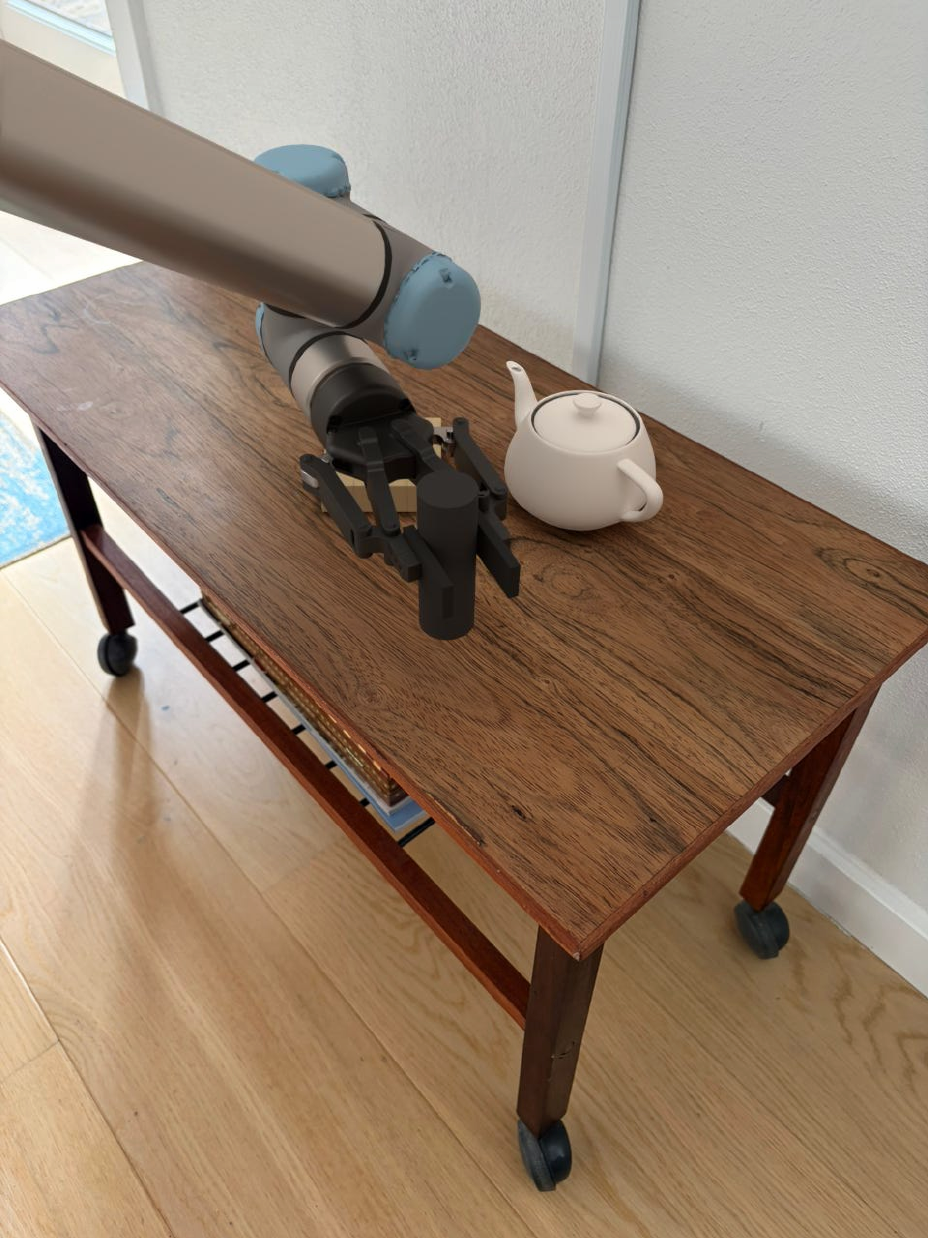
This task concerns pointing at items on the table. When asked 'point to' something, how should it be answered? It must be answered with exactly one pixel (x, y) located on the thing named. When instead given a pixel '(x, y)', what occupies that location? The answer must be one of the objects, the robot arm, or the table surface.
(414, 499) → the base pad
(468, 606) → the black cylinder peg
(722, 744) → the table surface
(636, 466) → the teapot
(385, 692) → the table surface
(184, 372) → the table surface
